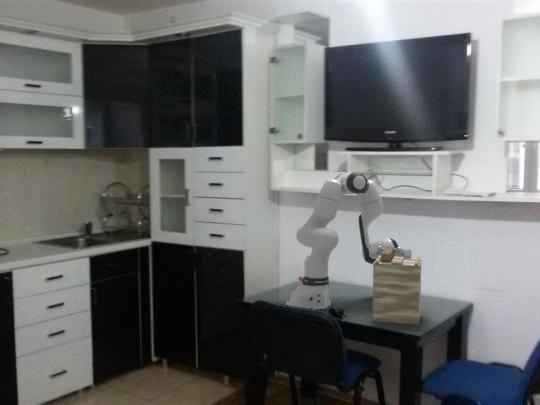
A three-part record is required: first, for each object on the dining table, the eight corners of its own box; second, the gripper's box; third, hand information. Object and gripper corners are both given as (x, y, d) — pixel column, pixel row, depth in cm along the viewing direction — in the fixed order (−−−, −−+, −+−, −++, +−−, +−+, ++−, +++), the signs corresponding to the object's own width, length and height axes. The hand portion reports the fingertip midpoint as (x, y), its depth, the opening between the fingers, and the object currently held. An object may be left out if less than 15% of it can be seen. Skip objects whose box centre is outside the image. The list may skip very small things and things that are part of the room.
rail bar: (390, 262, 251) (390, 253, 250) (381, 262, 252) (381, 253, 251) (394, 255, 270) (394, 246, 269) (385, 254, 271) (385, 246, 270)
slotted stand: (418, 324, 245) (419, 263, 243) (372, 320, 251) (373, 261, 249) (420, 314, 260) (421, 257, 258) (376, 311, 266) (377, 255, 264)
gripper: (370, 251, 282) (367, 241, 270) (412, 253, 276) (411, 243, 264) (369, 263, 280) (366, 253, 268) (411, 265, 273) (410, 255, 262)
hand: (389, 248), depth 266 cm, fingers open, 8 cm apart
